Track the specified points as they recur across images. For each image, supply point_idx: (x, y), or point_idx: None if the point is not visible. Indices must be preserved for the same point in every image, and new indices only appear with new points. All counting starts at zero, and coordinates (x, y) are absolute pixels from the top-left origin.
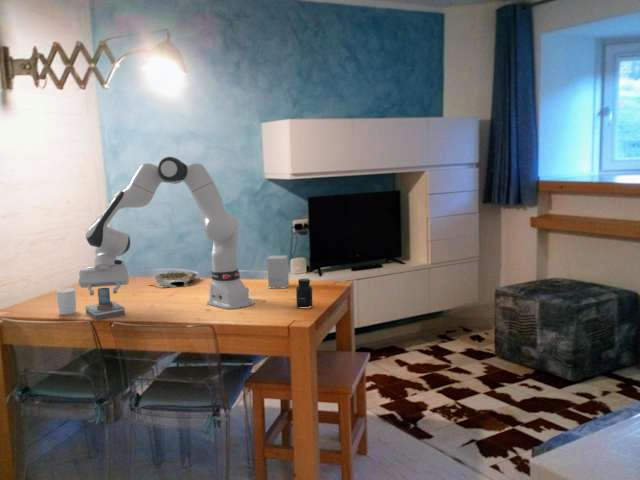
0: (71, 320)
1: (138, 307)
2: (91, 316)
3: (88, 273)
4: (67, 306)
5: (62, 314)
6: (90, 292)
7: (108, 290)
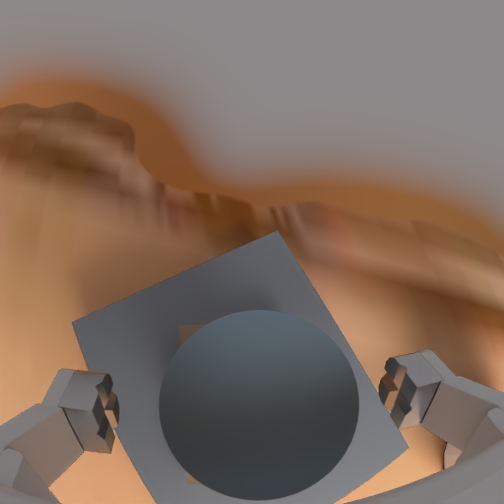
0: (410, 283)
1: None
2: None
3: None
4: None
5: None
6: (424, 354)
7: (170, 373)
